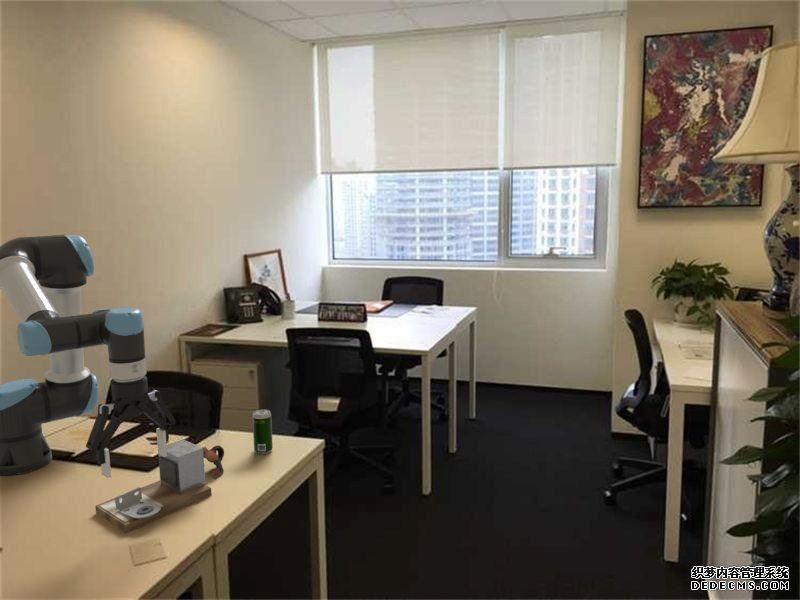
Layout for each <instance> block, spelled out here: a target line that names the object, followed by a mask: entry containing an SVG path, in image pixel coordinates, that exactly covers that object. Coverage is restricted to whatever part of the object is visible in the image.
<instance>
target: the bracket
mask: <svg viewBox="0 0 800 600" xmlns="http://www.w3.org/2000/svg"><path fill="white" fill-rule="evenodd" d="M141 488H142V487H141V486H140V487H139V486H138V487H136V488H134V489H132V490H129V491H127V492H125V493H122V494H120V495H118V496H116V497H115V504H116V510H118V509H119V510H120V511H119V513H121V514H124V515H126V516H129V517H132V518H136V519H140V518H146V517H150V516H152V515H154V514H156V513H158V512H159V511H160V509H161V508H160V506H159V505H157V504H154V503H151V502H148V501H145V500H143V501H140V500H141V499H142V493H141ZM137 491H139V493H138V494H137V495H134V494H135V492H137ZM121 497H122V502H121V503H120V501H119V499H120V498H121ZM140 503H143V504H140ZM127 510H128V511H127ZM125 511H126V512H125Z"/></svg>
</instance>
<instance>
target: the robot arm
mask: <svg viewBox="0 0 800 600" xmlns="http://www.w3.org/2000/svg"><path fill="white" fill-rule="evenodd" d="M94 272H95V264H94V259H93V255H92V251H91V249H90V246H89V243H88V242H87V241H86V240H85V238H84V237H82V236H81V235H77V234H75V235H74V234H56V235H55V234H54V235H52V234H51V235H39V236H19V237H16V238H13V239H10V240H8V241H6V242H4V243H2V244H1V245H0V289H1V290H2V291H3V292H4V295H5V297H6V298H7V300H8V302H9V304H10V305H11V308H12V309H13V311H14V313H15V314H16V316H17V319H18V321H19V322H20V323H19V324H18V325H17V329H16V335H17V338H16V339H17V343H18V346H19V350H20V352H21V353H22V355H24V356H26V357H32V356H34V357H35V356H45V355H49V363H50V365H49V366H50V368H49V369H48V371H46V372H45V374H44V381H42V382H38V381H37V380H36V379H34V378H25V379H22V378H21V379H16V380H13V381H9V382H6V383H3V384H1V385H0V476H15V475H20V474H25V473H30V472H32V471H36V470H38V469H41V468H42V467H45V466H46V465H48V464H49V463H50V462H51V461H52V460H53V454H52V448H51V447H50V445H49V443H48V441H47V440H46V437H45V435H44V433H43V430H42V429H43V427H42V425H43V424H47V423H52V422H56V421H60V420H61V421H62V420H65V419H69V418H74V417H80V416H82V415H85V414H89V413H91V412H93V410H94V409H96V407H97V415H96V417H95V420H94V424H93V426H92V429H91V431H90V433H89V436H88V439H87V442H86V444H85V448H87V449H88V450H90V451H92V452H95V455H96V456H95V457H96V462H97V464H98V465H100V467H101V469H100V470H101V475H102V476H103V477H105V478H107V479H109V478H112V469H111V460H110V449H109V448H107V447H108V445H109V443H110V441H111V440H112V438H113V437H114V435H115V434H116V432H117V431H118V429H119V427H120V425H122V424H123V423H124V421H125V420H130V419H132V418H134V417H140V416H141V414H144V415H145V416H146V417H148V418H149V419H150V420H151V421H152V422H153V423H154V424H156V425H158V428H156V429H155V430H156V441H157V443H156V445H157V455H158V456H159V455H161V456H163V457H166V456H167V447H166V445H167V442H169V440H170V436H169V434H170V433H169V432H170V430H171V429H172V426H174V425H175V424H177V423H176V422H177V421H176V419H175V417H174V415H173V414H172V412H171V411H170V410H169V408H168V406H167V405H166V403H165V402H164V400H163V397H162V392H161V391H159V390H156V389H154V388H153V389H152V390H151V391H150V392H148V391H149V386H148V377H147V376H146V375H147V363H146V359H147V358H146V347H145V346H146V343H145V331H144V329H145V323H144V320H143V319H144V318H143V313H142V311H141V310H140V309H139V308H135V307H133V308H132V307H118V308H114V309H109V308H100V309H96V310H94V311H92V313H85V314H83V310H82V307H83V306H82V288H84V287H86V285H87V282H88V281H87V277H90V276H93V274H94ZM105 345H106V346H107V351H108V365H109V377H110V379H111V380H110V389H111V390H110V391H111V397H112V400H111V403H108V404H104V403H99V404H98V401H99V391H100V390H99V387H98V379H97V377H96V375H95V374H94V373H91V370H90V369H89V368H88V367H86V366H85V357H84V354H85V353H84V349H87V348H92V347H97V346H105ZM150 401H152V402H153V403H154V405H155V406H156V408H157V411H159V413H160V414H161V416H162V417H163V419H164V420H163V419H162V418H161V417H160V416H158V415H157V414H156V413H155V412H154V411H153V410H152V409H151V408H149V407H148V406H147V405H148V404H149V402H150ZM97 405H98V406H97ZM112 410H113V413H111V412H112ZM110 414H112V415H111V416H110V420H109V415H110ZM108 420H109V421H108ZM107 422H108V423H107ZM106 424H107V425H106Z"/></svg>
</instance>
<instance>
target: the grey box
mask: <svg viewBox="0 0 800 600" xmlns="http://www.w3.org/2000/svg"><path fill="white" fill-rule="evenodd" d="M166 447H167V456H166V457H163V456H161V455H159V454H158V468H159V478H160V479H159V480H161V485H162V486H164V487H166V488H168V489H170V490H172V491H173V492H175V493H177V494H179V495H183V494H185V493H188V492H190V491H192V490H195V489H197V488H199V487H202V486H204V485H206V477H205V476H206V474H205V466H204V465H205V461H204V460H205V458H204V456H203V448H202V447H203V446H202V447H201V446H199V445H196V444H195V443H192V442H190V441H188V440H186V439H180V440H177V441H173V442H171V443H168V444H166Z"/></svg>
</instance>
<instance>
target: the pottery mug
mask: <svg viewBox="0 0 800 600" xmlns="http://www.w3.org/2000/svg"><path fill="white" fill-rule="evenodd" d="M202 448H203V456H204V459H205V460H207V462H209V463H210V464H211V463H212V464H213V465H214V466H215V467H216V468H214V470H213V471H212V472H211V473H212V475H213V476H214V478H215V479H216V480H217V479H218V478H220V476H221V475H222V474H223V473H224V471H225V470H224V469H223V465H222V461H223V459H224V456H225V450H224V447H222V446H221V445H215V446H212V447H211V449H208V448H207V446H202ZM205 466H206V465H205V464H204V467H205Z"/></svg>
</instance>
